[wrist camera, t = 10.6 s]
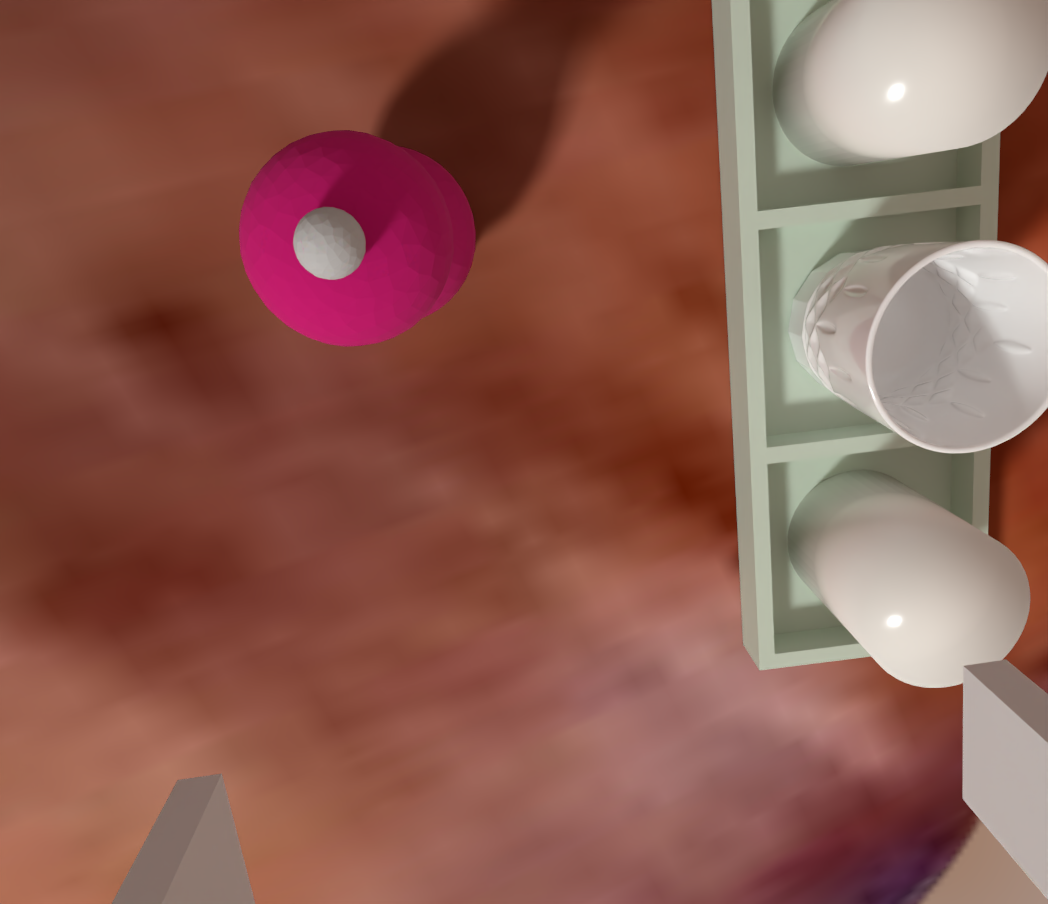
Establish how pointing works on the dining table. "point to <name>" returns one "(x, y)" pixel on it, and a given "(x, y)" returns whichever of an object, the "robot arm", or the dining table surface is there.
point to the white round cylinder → (907, 76)
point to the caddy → (764, 313)
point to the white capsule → (908, 577)
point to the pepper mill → (354, 237)
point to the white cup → (931, 339)
